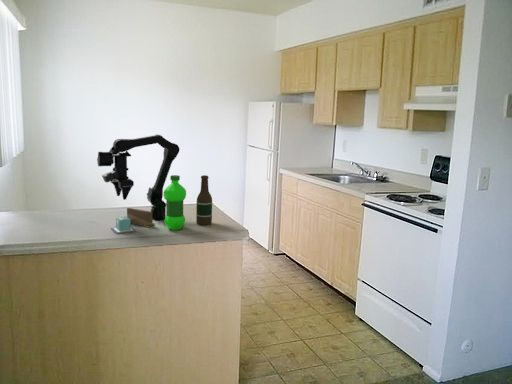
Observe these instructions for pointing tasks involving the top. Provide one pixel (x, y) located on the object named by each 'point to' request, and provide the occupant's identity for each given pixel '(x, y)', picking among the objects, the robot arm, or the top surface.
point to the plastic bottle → (174, 204)
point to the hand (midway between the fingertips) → (121, 197)
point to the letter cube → (123, 224)
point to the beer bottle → (204, 204)
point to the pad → (123, 231)
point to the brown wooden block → (140, 217)
